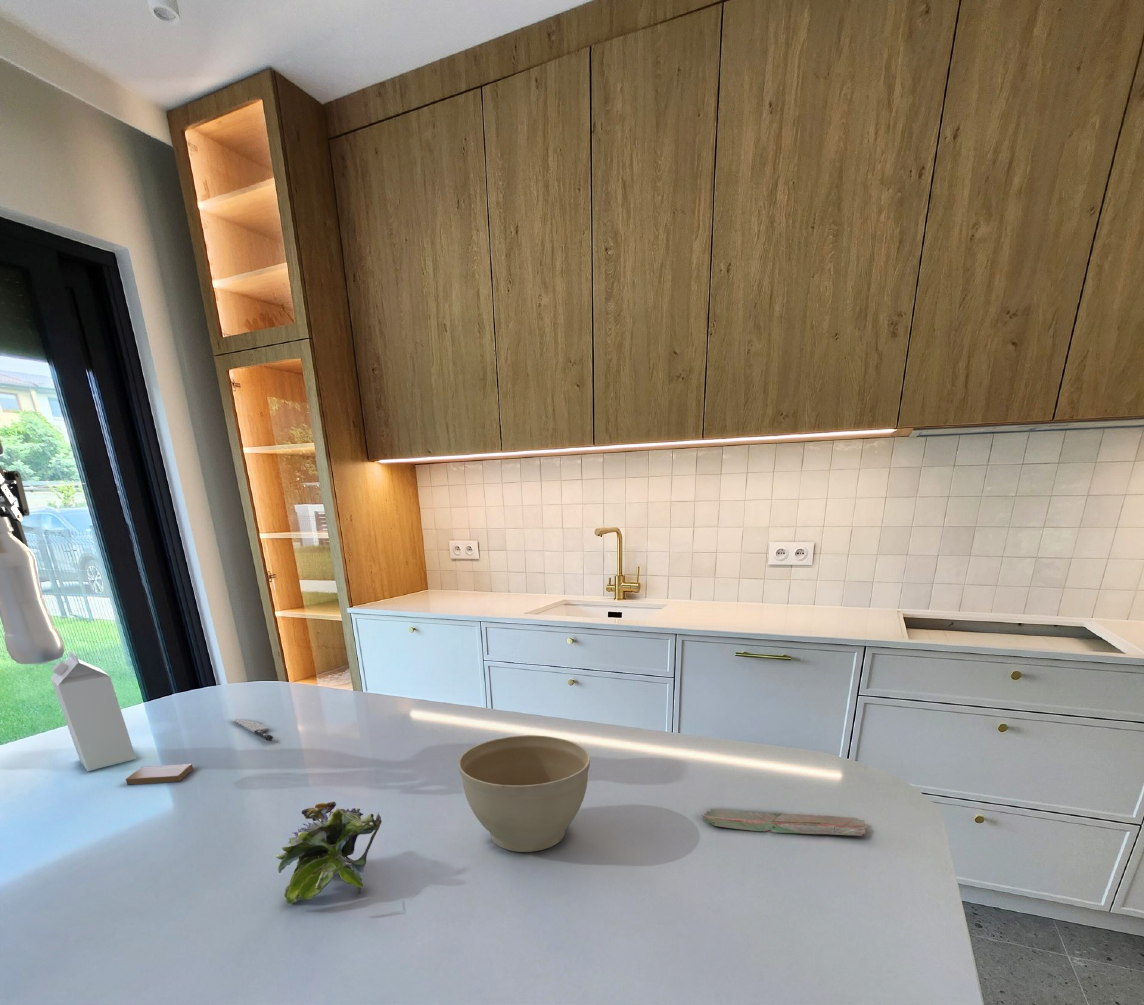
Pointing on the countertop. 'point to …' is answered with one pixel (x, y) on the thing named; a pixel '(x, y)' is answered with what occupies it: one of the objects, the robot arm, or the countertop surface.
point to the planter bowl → (525, 788)
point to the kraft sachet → (159, 774)
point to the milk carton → (92, 713)
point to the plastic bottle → (24, 604)
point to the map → (786, 822)
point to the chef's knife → (255, 728)
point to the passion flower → (326, 850)
